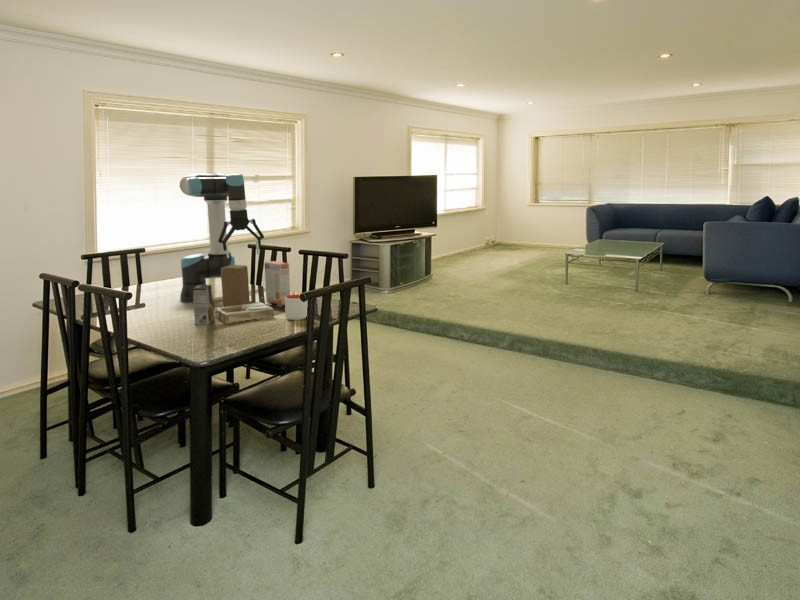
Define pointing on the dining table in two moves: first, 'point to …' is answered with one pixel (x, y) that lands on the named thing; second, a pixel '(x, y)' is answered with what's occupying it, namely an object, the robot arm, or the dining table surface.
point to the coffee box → (203, 304)
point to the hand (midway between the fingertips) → (243, 255)
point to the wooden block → (235, 285)
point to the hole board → (244, 312)
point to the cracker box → (277, 282)
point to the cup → (295, 307)
